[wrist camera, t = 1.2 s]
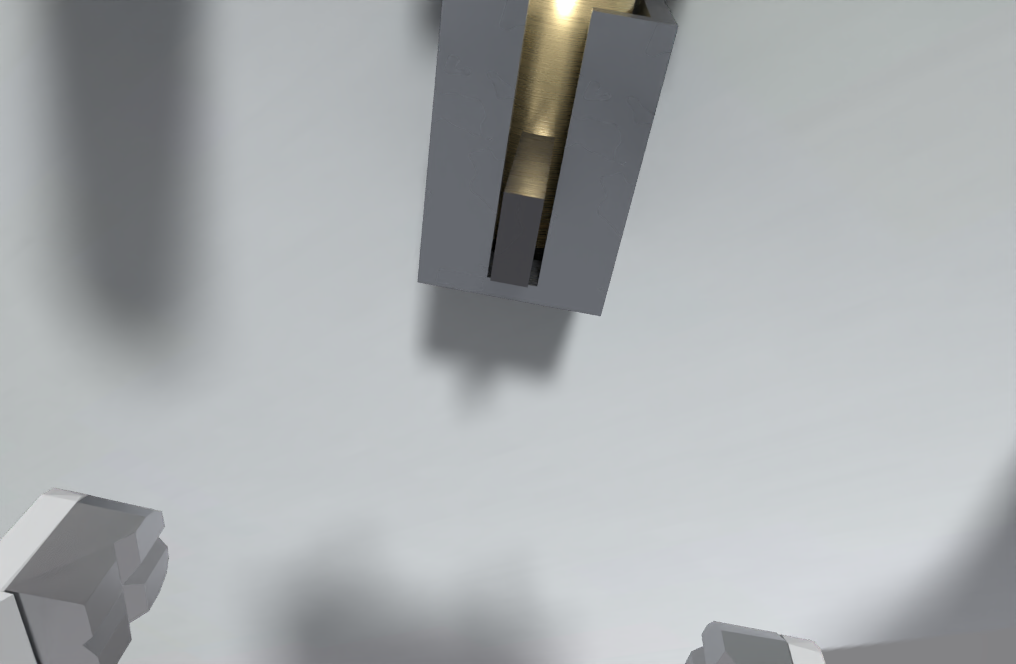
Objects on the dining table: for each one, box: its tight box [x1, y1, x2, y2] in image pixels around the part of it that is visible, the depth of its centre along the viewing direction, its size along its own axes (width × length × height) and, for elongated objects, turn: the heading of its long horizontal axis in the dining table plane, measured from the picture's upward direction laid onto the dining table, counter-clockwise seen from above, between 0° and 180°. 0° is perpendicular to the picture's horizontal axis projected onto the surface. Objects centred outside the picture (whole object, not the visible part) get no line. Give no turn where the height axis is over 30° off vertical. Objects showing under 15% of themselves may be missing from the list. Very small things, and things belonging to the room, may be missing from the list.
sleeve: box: [418, 0, 678, 316], centre depth 27 cm, size 7×11×7 cm
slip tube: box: [490, 0, 635, 288], centre depth 24 cm, size 5×12×11 cm, turn 171°
